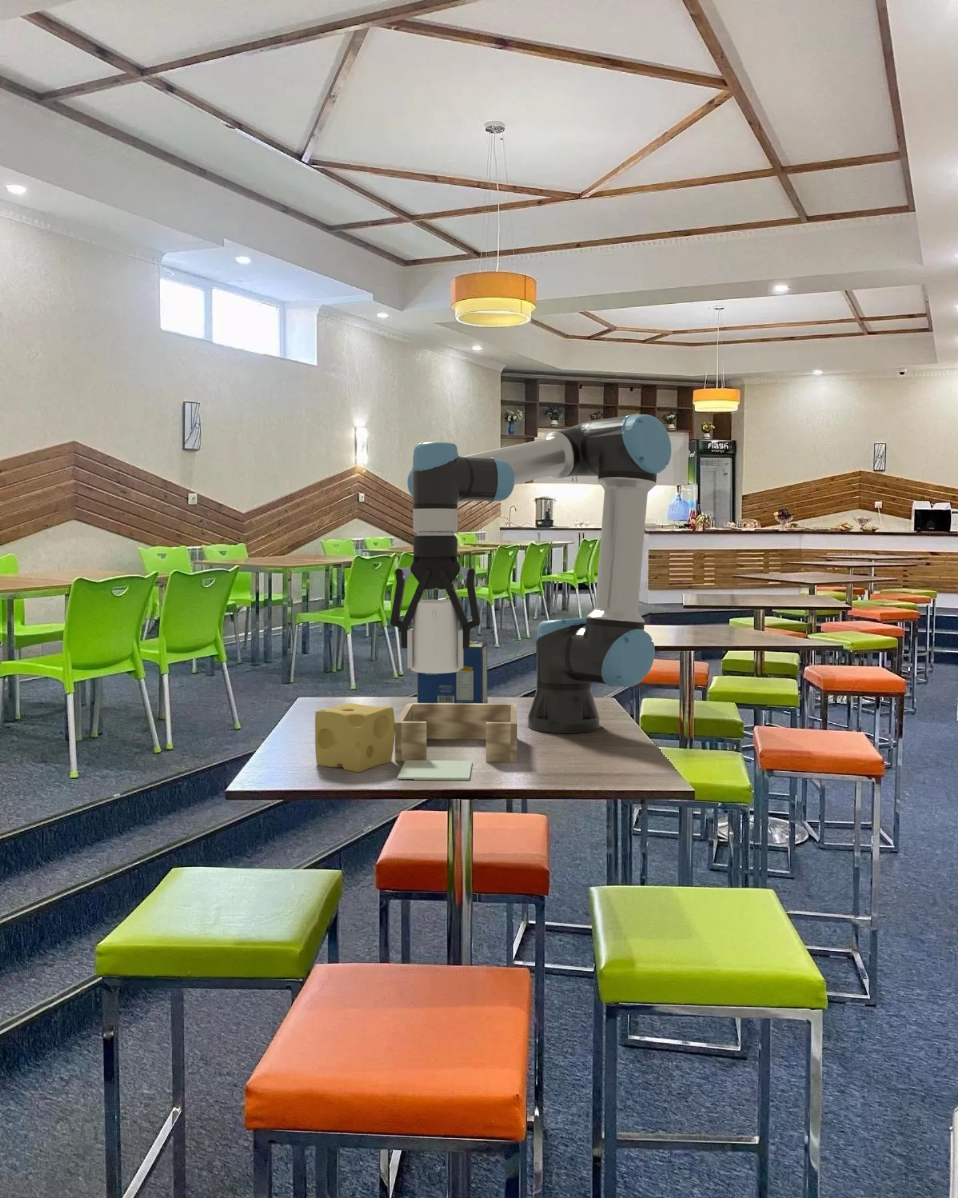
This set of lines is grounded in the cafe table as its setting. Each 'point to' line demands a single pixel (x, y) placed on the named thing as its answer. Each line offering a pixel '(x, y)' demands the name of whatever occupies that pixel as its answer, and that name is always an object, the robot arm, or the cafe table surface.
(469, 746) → the cafe table surface
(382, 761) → the cheese
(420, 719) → the frame
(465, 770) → the mat
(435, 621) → the mug
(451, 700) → the protein box
